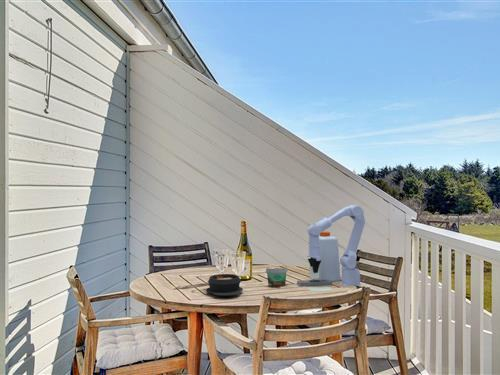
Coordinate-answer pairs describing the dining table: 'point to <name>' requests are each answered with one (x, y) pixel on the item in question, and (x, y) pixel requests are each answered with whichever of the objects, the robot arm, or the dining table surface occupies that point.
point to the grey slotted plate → (314, 282)
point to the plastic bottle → (328, 258)
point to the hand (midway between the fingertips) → (314, 272)
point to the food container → (276, 277)
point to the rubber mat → (320, 288)
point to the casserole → (224, 285)
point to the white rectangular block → (312, 274)
